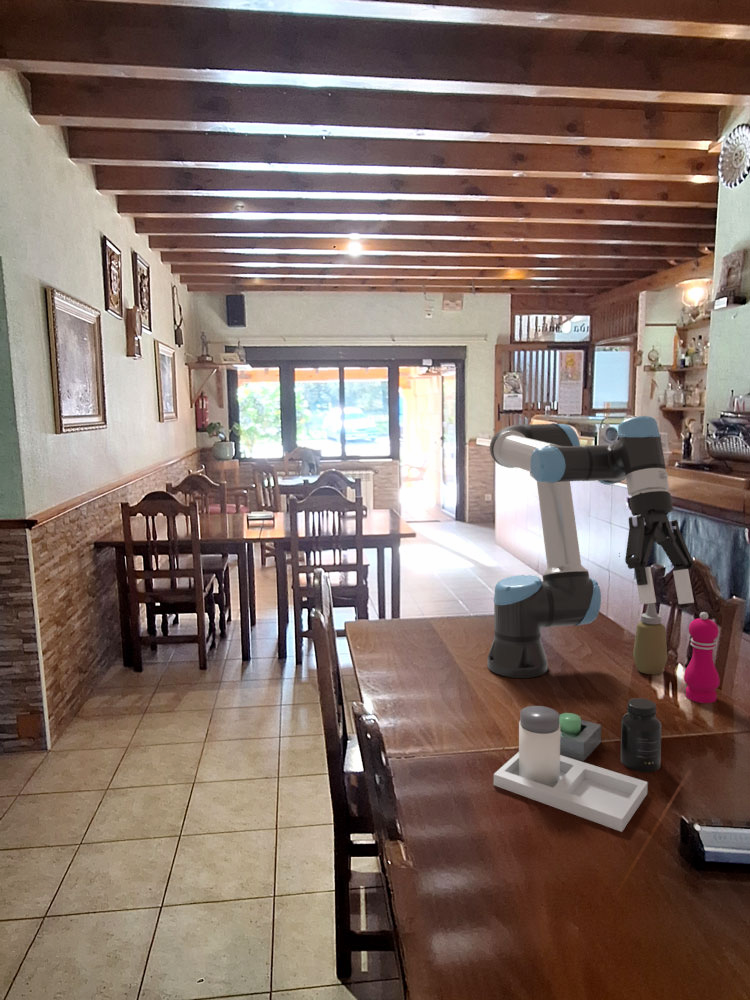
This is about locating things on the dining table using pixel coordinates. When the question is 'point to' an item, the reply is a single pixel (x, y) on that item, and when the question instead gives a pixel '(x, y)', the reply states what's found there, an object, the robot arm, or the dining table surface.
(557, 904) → the dining table surface
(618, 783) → the tray
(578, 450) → the robot arm
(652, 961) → the dining table surface
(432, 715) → the dining table surface
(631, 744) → the supplement bottle
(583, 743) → the grey button base
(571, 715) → the button
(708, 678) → the pepper mill
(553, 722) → the lidded jar
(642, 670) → the squeeze bottle
